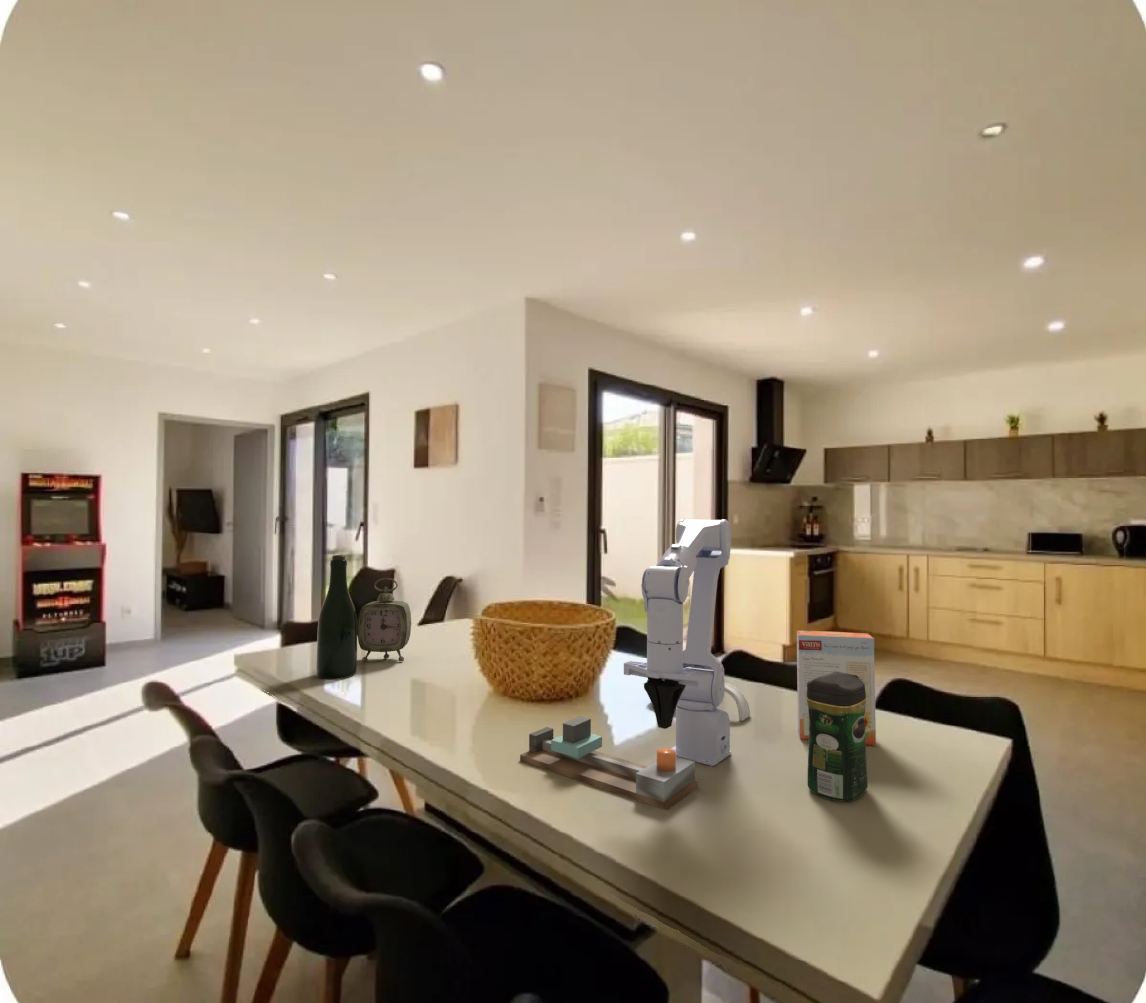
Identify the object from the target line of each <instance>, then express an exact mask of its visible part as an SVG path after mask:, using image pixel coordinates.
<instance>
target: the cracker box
mask: <svg viewBox="0 0 1146 1003" xmlns="http://www.w3.org/2000/svg"><path fill="white" fill-rule="evenodd" d="M875 665H876V664H875V638H874V637H873V636H872V635H871V634H869V633H866V632H865V633H863V632H843V631H822V630H821V631H820V630H796V670H797V671H796V679H797V681H796V684H797V688H796V689H797V732H798V735H799V738H800V739H801V740H808V741H809V710H808V704H807V682H808V681H810V680H813V679H815V678H818V677H820V676H823V675H827V674H830V673H833V672H834V671H836V672H842V673H847V674H852V675H857V676H858V677H859V678H860V679H861V680H862V681H863V683H864V684H865V693H866V706H865V743H866V746H876V745H877V742H876V741H877V737H876V736H877V735H876V734H877V732H876V730H877V729H876V724H877V723H876V720H877V719H876V679H875V678H876V676H875V675H876V674H875V671H876V670H875V668H876V666H875Z"/></svg>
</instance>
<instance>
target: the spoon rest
mask: <svg viewBox="0 0 1146 1003" xmlns="http://www.w3.org/2000/svg"><path fill="white" fill-rule="evenodd" d="M724 693H727V694H728V695H730V696H731V697H732V699H733V700H734V701H735V704H736V707H737V711H738V719H739V721H741V722H743V721H745V720H746V719H748V718H749V717H750V716H751V710H750V709H751V708H750V706H749V702H748V700H747V699H746V697H745V695H744V694H743V693H742V692H741V691H740V690H739V689H738V688H737V687H735V686H734V685H732V684H730V683H728V682H725V690H724Z"/></svg>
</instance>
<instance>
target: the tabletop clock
mask: <svg viewBox="0 0 1146 1003" xmlns="http://www.w3.org/2000/svg"><path fill="white" fill-rule="evenodd" d="M380 581H391V582H393V583H395V587H394V588H392V589H391V588H390V589H388V587H387V586H385V587H384V588H383V589H381V588H379V587H377V583H379V582H380ZM398 584H399V583H398V582H397V581H396V580H395V578H394V579H393V578H390V577H382V578H379V579H377V580H376V581H375V582H374V585H373V586H374V589H375V590H376V591H378V592H382V593H380V594H379V595H378V597H377V598H376V600H375V601H371V602H368V603H366V604H365V605H363V606H361V608H360V610H359V612H358V616H357V617H358V618H357V643H358V645H359V647H360V649H361V650H363V651H365V652H367V653H366V655H365V656H363V657H362V658H361V661H362V662H363V663H367V662H368V657H369V655H370V654H371V653H372V652H374V653H384V655H383V658H384V659H385V658H388V659H389V657H390V655H389V654H390V652H396V653H397V655H398V662H400V661H402V662H404V660H405V658H404V656H402V655H401V650H402V649H404V648H405V647H406V645H408V643H409V641H410V638H411V631H412V614H411V608H410V605H409V603H408V602H405V601H403V600H395V596H394V595H393V594H392V593H390V592H393V591H395V590H396V589H397V588H398V587H399V586H398ZM366 661H367V662H366Z"/></svg>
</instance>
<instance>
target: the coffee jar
mask: <svg viewBox="0 0 1146 1003" xmlns="http://www.w3.org/2000/svg"><path fill="white" fill-rule="evenodd" d="M807 704H808V710H809V740H808V752H807V753H808V754H807V755H808V756H807V787H808V789H809V790H810V791H811V792H813V793H815V794H816V795H818V796H819V797H822V798H824V799H826V800H829V801H840V802H846V803H847V802H852V801H854V800H857V799H858V798H860V797H861V796H862V795H863V794H864V793H865V792H866V791H867V789H868V785H869V784H868V768H867V767H868V766H867V749H866V748H867V747H866V746H867V745H866V743H865V706H866V693H865V684H864V683H863V681H862V680H861V679H860V678H859V677H858V676H857V675H852V674H847V673H842V672H836V671H834V672H833V673H830V674H827V675H823V676H820V677H818V678H815V679H813V680H810V681H808V682H807Z"/></svg>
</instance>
